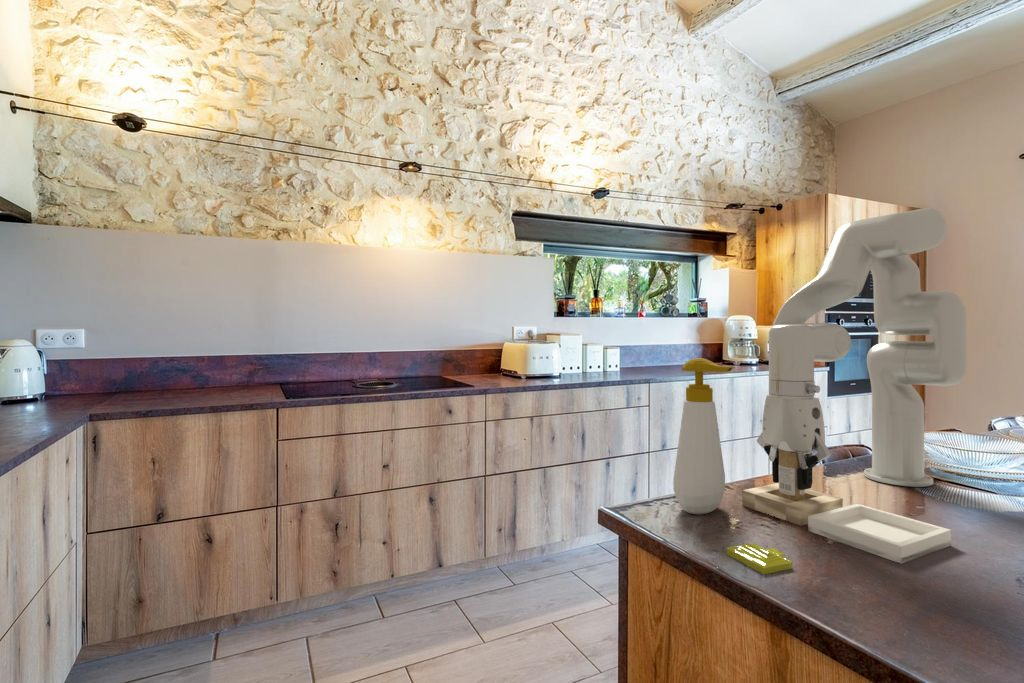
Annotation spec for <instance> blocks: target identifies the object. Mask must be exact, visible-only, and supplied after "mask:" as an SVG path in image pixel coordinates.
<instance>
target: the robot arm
mask: <svg viewBox="0 0 1024 683" xmlns="http://www.w3.org/2000/svg"><path fill="white" fill-rule="evenodd" d="M946 232H947V221H946V218H945V216H944V215H943V214H942V213H941V212H940V211H939V210H937V209H936V208H933V207H925V208H920V209H919V208H918V209H913V210H908V211H904V212H897V213H890V214H885V215H880V216H879V215H878V216H874V217H870V218H863V219H859V220H854V221H850V222H848V223H846V224H844V225H842V226H840V227H839V228H838V229H837V231H836V232H835V233H834V235H833V237H832V240H831V242H830V245H829V247H828V249H827V251H826V254H825V256H824V259H823V261H822V263H821V265H820V268H819V270H818V272H817V275H816V277H815V278H814V279H812V280H811V281H809V282H807V283H806V284H804V286H803V287H801V288H800V289H799V290H798V291H796V292H795V293H793V295H792V296H791V297H789V298H788V299H787V300H786V301H785V302H784V303H783V304H782V306H780V308H779V310H778V312H777V314H776V316H775V319H774V321H773V322H772V323H773V324H772V325H771V327H770V329H769V331H768V394H767V395H766V397H765V400H764V406H763V414H762V427H761V429H762V431H761V434H760V435H759V436H758V437H757V439H756V442H757V443H758V445H759V446H761V448H762V449H764V452H765V453H766V454H767V456H768V460H769V461H770V462H771V475H772V482H773V484H775V483H779V450H778V447H779V444H780V442H781V441H784V442H786V443H787V444H788V446H789V448H790V449H792V450H794V451H797V453H798V458H799V462H800V467H801V468H798V469H797V488H798V489H799V490H805V489H812V486H813V468H815V467H816V465H818V464H819V463H821V462H822V461H824V460H826V459H828V458H829V457H831V456H832V453H831V451H830V450H829V448H828V446H827V445H826V433H825V421H824V415H823V409H822V404H821V401H820V399H819V397H815V393H816V394H818V393H820V391H821V387H820V385H816V381H815V362H820V363H822V362H823V363H824V362H825V363H828V362H829V363H831V362H836V361H839V360H841V359H843V358H844V357H846V356H847V354H848V353H849V351H850V350H851V346H852V339H851V335H850V333H849V331H848V330H847V329H845V328H844V327H843V326H841V325H840V324H837V323H833V322H831V323H830V322H823V323H822V322H820V323H819V322H809V323H806V322H807V321H808V320H809V319H811V318H812V317H814V316H815V315H817V314H818V313H820V312H822V311H826V310H827V309H831V308H833V307H835V306H838V305H840V304H842V303H843V304H844V303H845V302H847V301H849V300H851V299H853V298H855V297H857V296H858V295H859V294H860V293H861V292H862V291H863V289H864V287H865V284H866V281H867V279H868V275H869V273H870V272H871V276H872V282H873V318H874V325H875V328H876V329H877V331H878V332H879V333H881V334H885V335H890V336H891V335H892V336H893V335H894V336H931V338H932V341H924V340H923V341H915V340H890V341H889V340H888V341H883V342H880V343H877V344H875V345H873V346H872V347H870V349H869V350H868V352H867V355H866V366H867V371H868V375H869V380H870V387H871V467H868V468H865V469H864V470H863V475H864V476H865V478H868V479H870V480H872V481H875V482H879V483H883V484H888V485H894V486H899V487H900V486H901V487H911V488H924V487H930V486H933V485H934V478H933V477H932V476H930V475H927V474H926V473H925V469H927V468H930V467H931V462H930V460H928V459H925V404H924V401H923V399H922V396H921V395H920V394H919V392H918V391H917V390H916V389H915V387H914V386H913V385H921V386H922V385H923V386H924V385H925V386H935V387H937V386H938V387H940V386H941V387H949V386H951V387H952V386H956V385H958V384H960V383H961V382H962V381H963V380H964V378H965V377H966V372H967V365H968V363H967V362H968V361H967V360H968V355H967V352H968V351H967V314H966V308H965V305H964V301H963V300H962V298H961V297H960V296H959V295H958V294H957V293H955V292H954V291H950V290H929V291H928V290H927V291H922V288H921V272H920V268H919V266H918V265H917V263H916V262H915V261H914V260H913V259H912V258H911V257H910V256H909V255H913V254H918V253H922V252H924V251H929V250H931V249H934V248H936V247H938V246H939V245H940V244H941V243H942V241H943V240H944V238H945V236H946ZM814 451H817V452H816V453H815V454H814Z"/></svg>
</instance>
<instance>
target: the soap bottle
mask: <svg viewBox="0 0 1024 683" xmlns="http://www.w3.org/2000/svg"><path fill="white" fill-rule="evenodd" d="M732 370H733V366H728V365H726V366H725V365H724V366H723V365H719V364H716V363H715V362H713V361H711V360H709V359H708V358H703V357H695V358H692V359H689V360H687V361H685V363H684V364H683V365H682V366H681V371H683V372H694V383H689V384H688V386H687V387H685V400H684V401H683V407H682V414H681V420H680V426H679V427H680V430H679V436H678V444H677V451H676V458H675V466H674V472H673V482H672V483H673V484H672V485H673V492H674V494H675V495H674V496H675V499H676V501H677V502H678V504H679V506H680V507H681V508H682V510H683V511H685V512H686V513H689V514H691V515H706V514H709V513H712V512H713V511H715V510H716V509H717V508H718V507H719V505H720V503H721V502H722V500H723V498H724V497H723V496H724V493H725V491H726V473H725V466H724V458H723V454H722V453H723V452H722V444H721V437H720V431H719V430H720V429H719V424H718V415H717V409H716V408H717V407H716V403H715V401H714V398H713V396H714V395H713V392H714V391H713V390H714V388H713V387H710V384H708V383H704V372H713V373H714V372H715V373H718V372H719V373H729V372H732Z"/></svg>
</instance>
